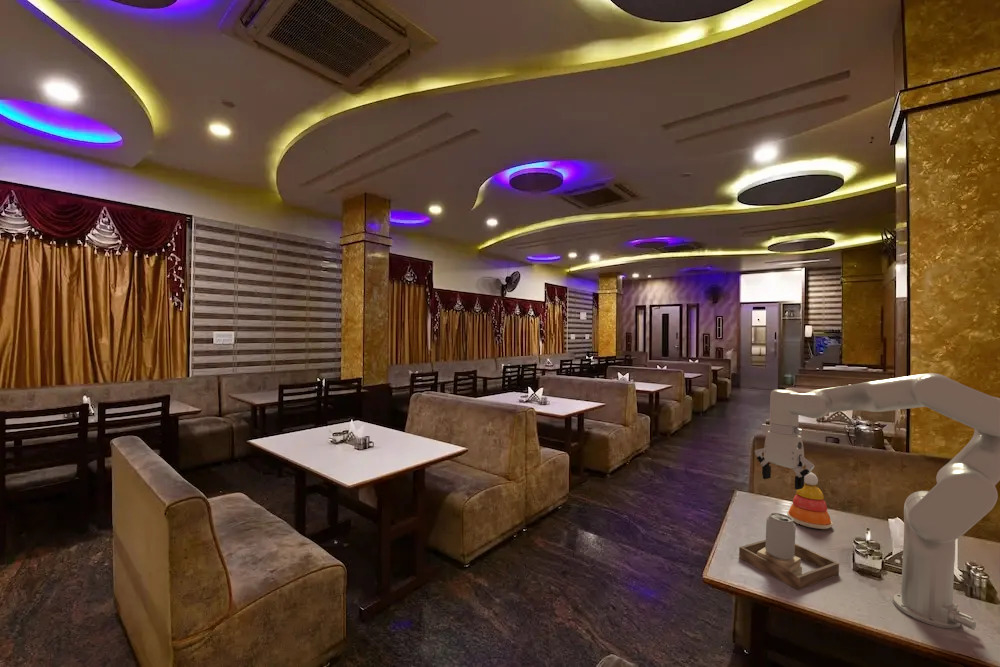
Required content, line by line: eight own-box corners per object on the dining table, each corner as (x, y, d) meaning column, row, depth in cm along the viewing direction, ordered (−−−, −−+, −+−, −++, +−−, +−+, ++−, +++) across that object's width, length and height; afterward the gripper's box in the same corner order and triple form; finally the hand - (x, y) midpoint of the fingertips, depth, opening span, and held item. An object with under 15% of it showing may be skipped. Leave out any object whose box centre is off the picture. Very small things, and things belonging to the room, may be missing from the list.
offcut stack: (804, 574, 127) (805, 560, 127) (786, 581, 123) (786, 566, 123) (771, 557, 136) (771, 544, 136) (752, 563, 133) (753, 549, 133)
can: (781, 563, 125) (782, 523, 125) (759, 550, 132) (760, 512, 132) (800, 560, 127) (802, 520, 127) (778, 547, 134) (779, 510, 134)
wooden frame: (838, 574, 128) (839, 563, 128) (798, 590, 119) (798, 577, 119) (778, 546, 144) (778, 535, 144) (739, 557, 136) (739, 546, 136)
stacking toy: (837, 535, 153) (839, 482, 153) (790, 526, 160) (792, 475, 159) (827, 519, 166) (829, 470, 166) (784, 512, 172) (785, 464, 172)
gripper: (821, 434, 127) (819, 491, 127) (763, 422, 142) (762, 473, 142) (807, 436, 123) (805, 495, 123) (749, 424, 139) (748, 476, 139)
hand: (782, 483), depth 133 cm, fingers open, 9 cm apart
